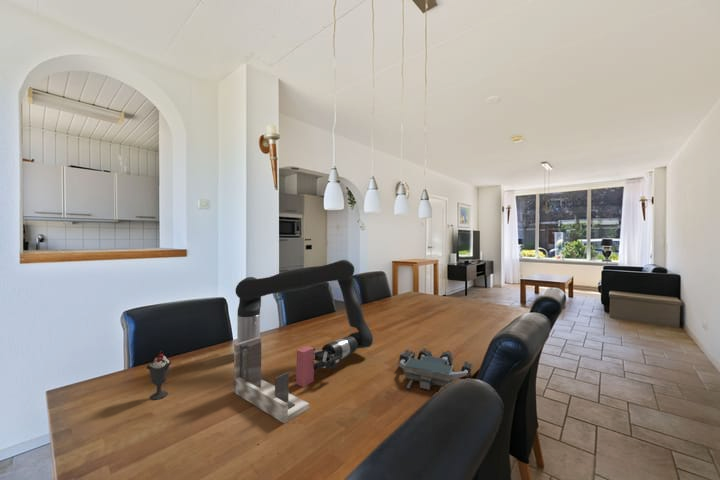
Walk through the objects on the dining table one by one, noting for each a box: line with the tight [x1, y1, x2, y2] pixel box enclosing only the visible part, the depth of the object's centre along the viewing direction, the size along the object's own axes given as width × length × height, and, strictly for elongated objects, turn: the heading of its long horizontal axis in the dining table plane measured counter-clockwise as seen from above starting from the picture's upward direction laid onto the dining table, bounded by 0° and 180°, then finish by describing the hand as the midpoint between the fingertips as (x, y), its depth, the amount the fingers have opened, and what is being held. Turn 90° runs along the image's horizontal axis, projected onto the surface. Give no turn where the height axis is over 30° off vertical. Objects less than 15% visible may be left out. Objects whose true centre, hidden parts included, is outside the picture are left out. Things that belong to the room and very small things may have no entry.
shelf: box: [233, 336, 310, 424], centre depth 94 cm, size 26×9×16 cm, turn 53°
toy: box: [397, 347, 474, 391], centre depth 113 cm, size 27×9×30 cm
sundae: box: [146, 350, 172, 401], centre depth 95 cm, size 7×7×15 cm
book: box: [295, 345, 315, 388], centre depth 105 cm, size 4×5×12 cm
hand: (305, 364), depth 105 cm, fingers open, 8 cm apart
